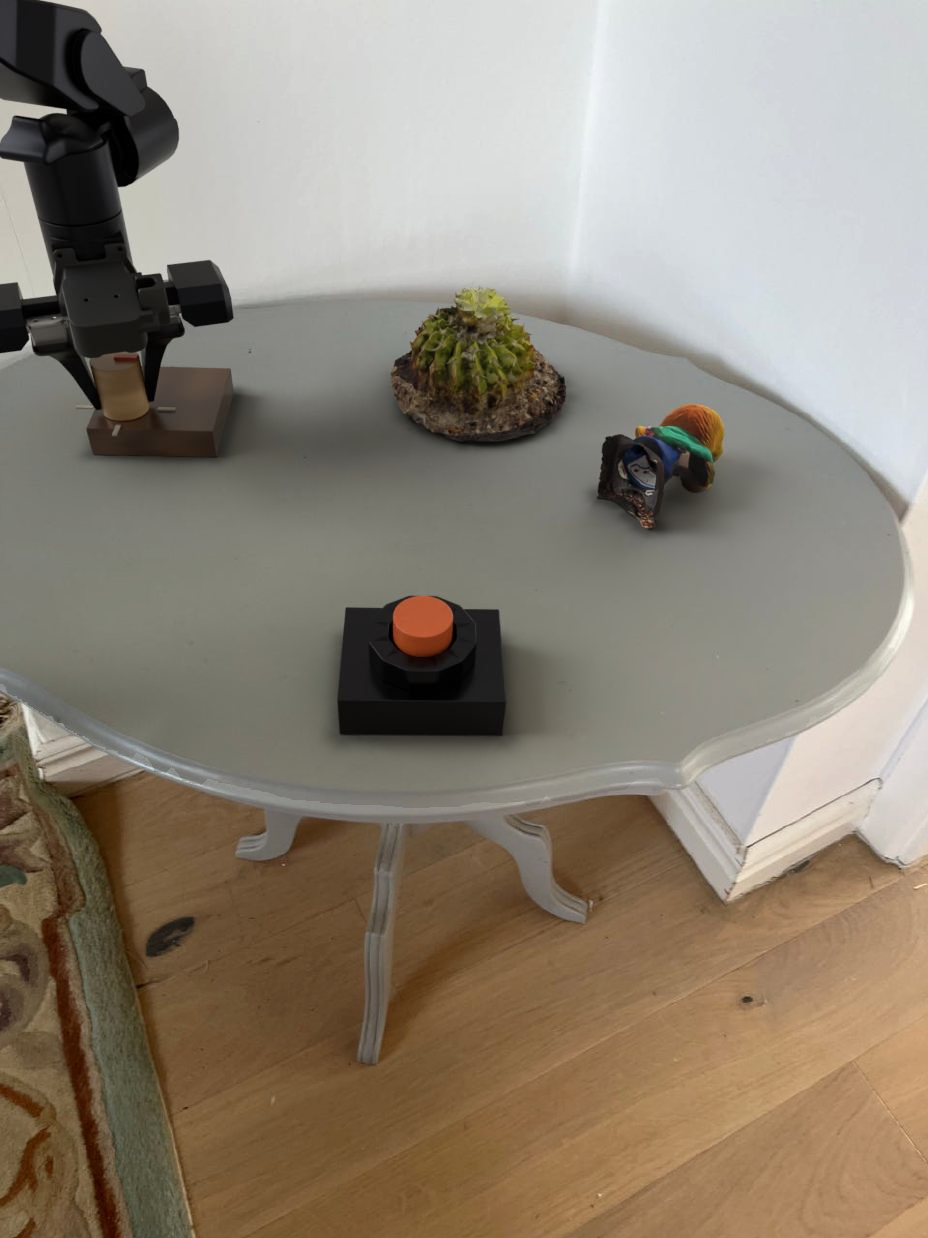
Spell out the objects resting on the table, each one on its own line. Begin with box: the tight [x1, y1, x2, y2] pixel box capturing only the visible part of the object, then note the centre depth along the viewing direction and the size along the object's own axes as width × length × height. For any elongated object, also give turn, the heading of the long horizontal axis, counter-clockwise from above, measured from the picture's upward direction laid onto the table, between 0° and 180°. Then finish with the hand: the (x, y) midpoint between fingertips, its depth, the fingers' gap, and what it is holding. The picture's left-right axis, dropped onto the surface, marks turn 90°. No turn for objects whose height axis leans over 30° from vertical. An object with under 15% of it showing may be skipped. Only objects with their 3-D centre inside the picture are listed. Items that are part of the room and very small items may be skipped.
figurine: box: [596, 403, 725, 530], centre depth 76 cm, size 11×8×6 cm, turn 122°
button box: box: [336, 595, 507, 737], centre depth 60 cm, size 10×8×5 cm
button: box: [393, 595, 453, 657], centre depth 58 cm, size 4×4×2 cm
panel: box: [75, 365, 235, 458], centre depth 81 cm, size 12×11×3 cm
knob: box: [88, 352, 150, 421], centre depth 77 cm, size 4×4×5 cm
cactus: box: [390, 285, 568, 443], centre depth 84 cm, size 17×16×10 cm
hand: (124, 403), depth 79 cm, fingers closed on knob, 4 cm apart
